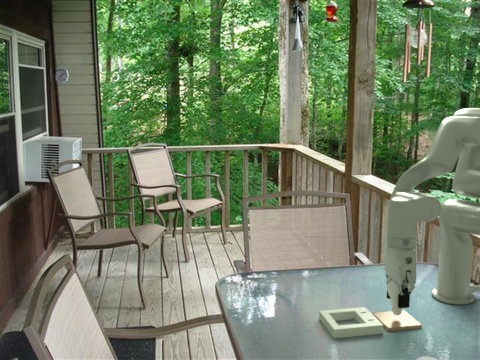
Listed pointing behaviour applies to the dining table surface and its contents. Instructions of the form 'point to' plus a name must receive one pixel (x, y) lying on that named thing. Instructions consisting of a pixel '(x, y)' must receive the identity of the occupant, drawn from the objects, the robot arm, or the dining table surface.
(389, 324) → the tile
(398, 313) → the lightbulb
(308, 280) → the dining table surface
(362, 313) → the slotted square frame
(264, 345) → the dining table surface
